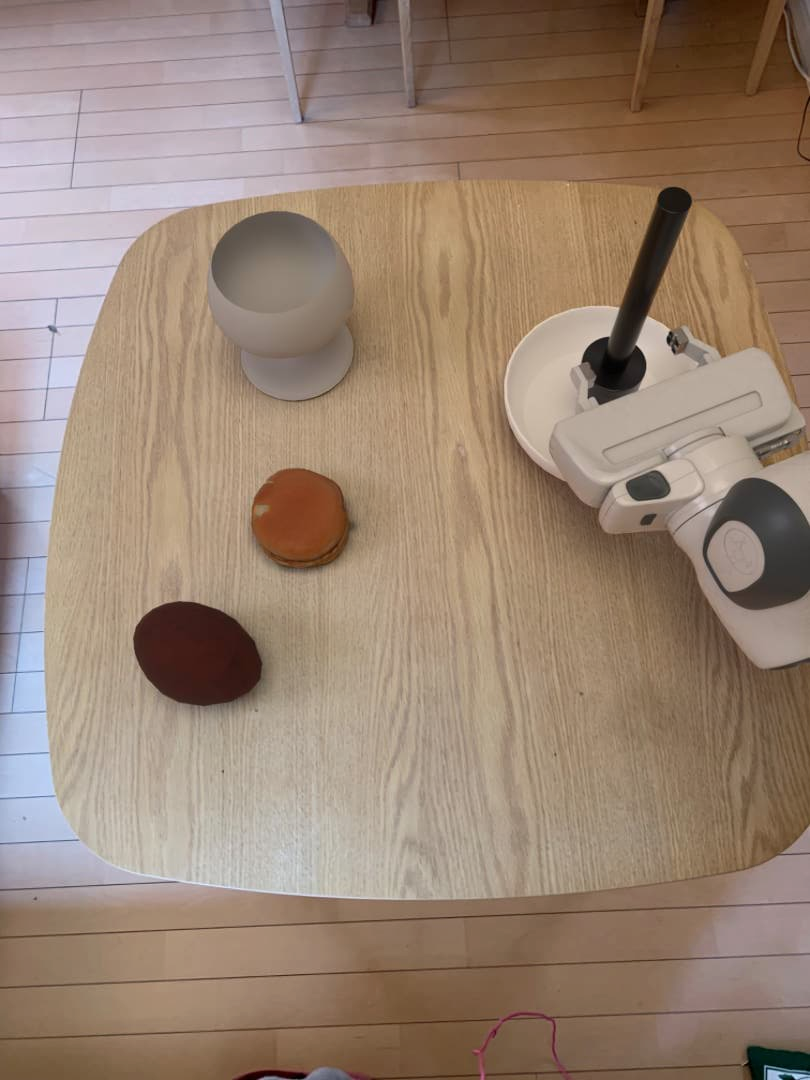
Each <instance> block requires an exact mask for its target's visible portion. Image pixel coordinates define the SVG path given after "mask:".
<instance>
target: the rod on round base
mask: <svg viewBox="0 0 810 1080" xmlns="http://www.w3.org/2000/svg"><path fill="white" fill-rule="evenodd" d="M692 204H693V199H692V195H691V194H690V193H689V191H687V190H686V189H685V188H682V187H680V186H668V187H666V188H665V187H664V189H662V190H661V191H659V193H658V195H657V198H656V200H655V204H654V206H653V209H652V213H651V214H650V217H649V218H650V219H649V221H648V224H647V227H646V230H645V233H644V235H643V238H642V241H641V244H640V248H639V250H638V253H637V256H636V259H635V262H634V265H633V268H632V270H631V273H630V277H629V279H628V282H627V285H626V288H625V292H624V294H623V297H622V300H621V303H620V304H619V305H620V306H619V307H618V308H619V311H618V314H617V317H616V320H615V323H614V326H613V329H612V332H611V335H610V336H609V337H603V338H600V339H598V340H596V341H594V342H592V343H591V344H590V345H589V346H588V347H587V348H586V350H585V352H584V354H583V357H582V360H581V364H583V363H586V362H588V363H589V364H590V366H591V368H590V369H592V370H593V371H594V373H595V374H596V379H595V381H594V385H593V387H591V388H589V389H588V397H587V399H589V398H591V397H595V399H596V401H597V403H598V404H599V405H602V404H605V403H607V402H610V401H613V400H615V399H618V398H620V397H623V396H625V395H628V394H631V393H633V392H636V391H638V389H639V387H640V385H641V382H642V380H643V378H644V376H645V373H646V368H647V363H646V359H645V356H644V354H643V352H642V351H641V349H640V348H639V347H638V346H637V345H636V343H637V340H638V338H639V335H640V333H641V330H642V328H643V325H644V323H645V320H646V318H647V316H649V313H650V310H651V307H652V305H653V303H654V300H655V298H656V295H657V292H658V289H659V288H660V285H661V283H662V281H663V278H664V275H665V273H666V270H667V267H668V265H669V263H670V260H671V257H672V255H673V253H674V250H675V248H676V244H677V242H678V240H679V237H680V235H681V232H682V230H683V227H684V225H685V223H686V220H687V217H688V216H689V212H690V210H691V207H692Z"/></svg>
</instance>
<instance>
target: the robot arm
mask: <svg viewBox="0 0 810 1080" xmlns="http://www.w3.org/2000/svg"><path fill="white" fill-rule="evenodd" d="M670 330H671V331H669V335H667V337H666V342H667V344H668V346H670V347H671V351H672V352H673V354H674V355H678V354H681V353H683V354H685V355H686V356H688V357H690V358H691V359H693V360H694V361H696V362H697V363H699V364H698V366H697V368H696V369H693V370H690V371H688V372H685V373H683V374H680V375H677V376H675V377H672V378H670V379H667V380H664V381H662V382H659V383H657V384H654V385H651V386H649V387H646V388H644V389H641V390H638V391H636V392H633V393H631V394H628V395H625V396H623V397H620V398H618V399H615V400H613V401H610V402H607V403H605V404H602V405H599V404H598V403H597V401H596V399H595V397H591V398H589V399H587V397H588V389H589V388H591V387H593V385H594V381H595V379H596V374H595V373H594V371H593V370H592V369H590V368H591V366H590V364H589V363H588V362H586V363H583V364H580V365H578V366H575V367H573V368H572V369H571V372H570V378H571V381H572V382H573V384H574V386H575V388H576V390H577V391H578V392H577V399H576V412H575V414H576V415H573V416H571V417H568V418H566V419H563V420H560V421H558V422H557V423H556V424H555V426H554V429H553V431H552V434H551V437H550V441H549V452H550V455H551V457H552V459H553V461H554V462H555V464H556V466H557V468H558V469H559V471H560V473H561V474H562V476H563V477H564V479H565V480H566V481H565V482H566V483H567V485H568V486H569V488H570V489H571V490H572V491H573V493H574V495H575V496H576V497H577V498H578V499H579V500H580V501H581V502H583V503H584V504H585V505H587V506H589V507H591V508H595V509H599V512H598V522H599V525H600V527H601V529H602V530H603V531H604V533H607V534H609V535H621V534H632V533H641V532H643V533H645V532H667V531H668V532H669V534H670V535H671V537H672V539H673V541H674V542H675V544H676V545H677V546H678V547H679V548H680V549H681V550H682V551H683V552H684V553H685V554H686V555H687V556H688V558H689V559H690V561H691V563H692V565H693V568H694V570H695V575H696V578H697V583H698V585H699V587H700V589H701V591H702V593H703V595H704V597H705V598H706V600H707V602H708V603H709V604H710V606H711V608H712V609H713V611H714V612H715V614H716V616H717V618H718V619H719V621H720V622H721V624H722V625H723V627H724V628H725V629H726V631H727V633H728V634H729V635H730V637H731V638H732V639H733V641H734V642H735V644H736V645H737V646H738V647H739V649H740V650H741V652H743V654H744V655H745V656H746V657H747V659H749V661H750V662H751V663H753V665H755V666H756V667H757V668H759V669H761V670H766V671H767V670H768V671H782V670H788V669H791V668H795V667H798V666H800V665H803V664H807V663H810V449H809V450H805V451H802V452H799V453H798V454H795V455H793V456H790V457H788V458H785V459H782V460H780V461H777V462H775V463H772V464H770V465H768V466H765V467H764V465H763V464H762V462H761V461H762V460H765V459H767V458H769V457H771V456H773V455H774V454H776V453H779V452H782V451H786V450H789V449H790V450H791V449H792V448H794V447H795V446H797V445H799V444H800V439H801V438H802V437H803V436H804V435H805V433H806V429H807V421H806V419H805V417H804V415H803V413H802V412H801V411H800V409H799V408H798V406H797V404H796V403H795V402H793V401H792V398H791V396H790V394H789V390H788V388H787V386H786V383H785V381H784V379H783V377H782V375H781V373H780V372H779V370H778V367H777V366H776V364H775V362H774V360H773V359H772V357H771V355H770V354H769V353H768V352H767V351H765V350H763V349H760V348H758V347H757V346H751V347H748V348H745V349H742V350H740V351H737V352H734V353H732V354H729V355H727V356H724V357H722V355H721V354H720V352H719V350H718V349H717V348H715V347H713V346H712V345H710V344H707V343H705V342H704V341H702V340H700V339H698V338H695V336H694V335H693V334H692V332H691V330H690V329H689V327H688V326H687V325H685V324H684V325H680V326H678V327H676V328H674V329H670Z"/></svg>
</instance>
